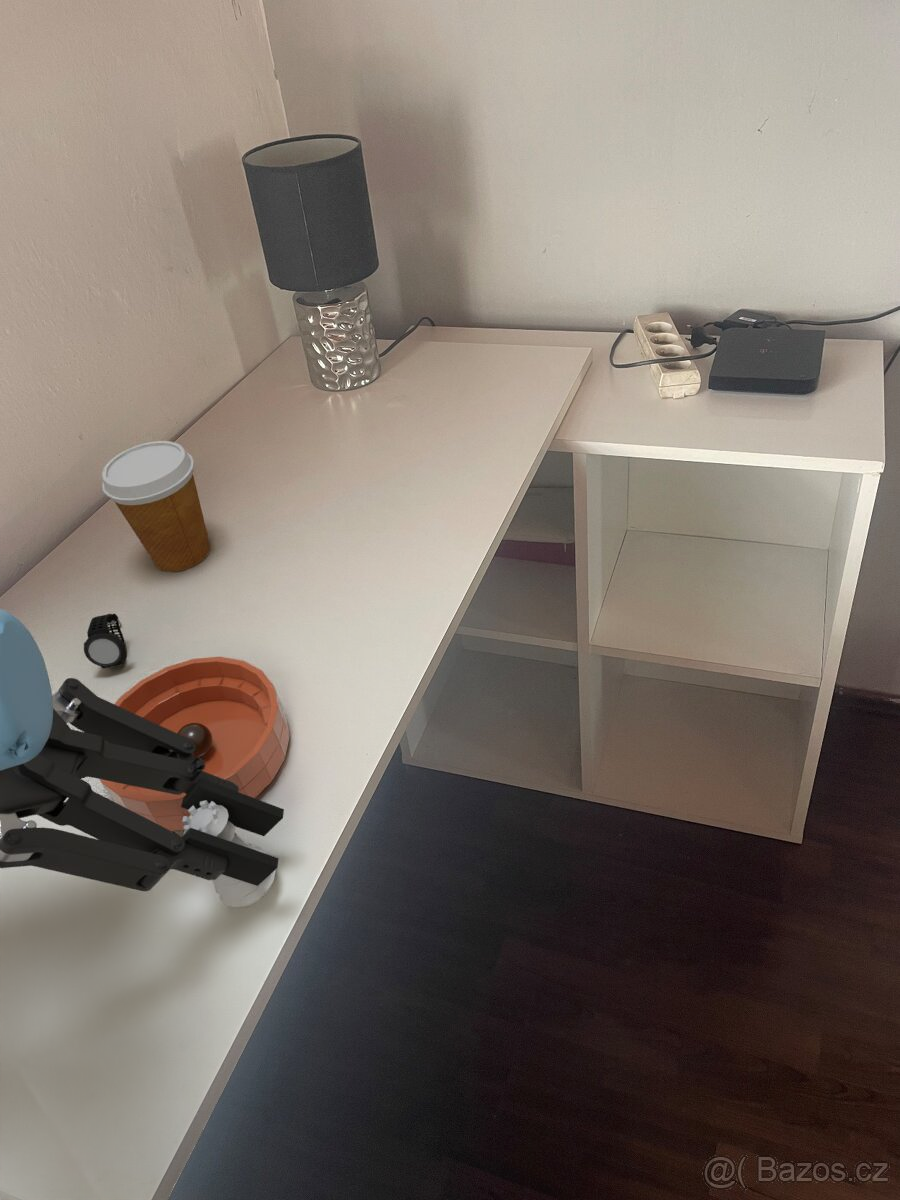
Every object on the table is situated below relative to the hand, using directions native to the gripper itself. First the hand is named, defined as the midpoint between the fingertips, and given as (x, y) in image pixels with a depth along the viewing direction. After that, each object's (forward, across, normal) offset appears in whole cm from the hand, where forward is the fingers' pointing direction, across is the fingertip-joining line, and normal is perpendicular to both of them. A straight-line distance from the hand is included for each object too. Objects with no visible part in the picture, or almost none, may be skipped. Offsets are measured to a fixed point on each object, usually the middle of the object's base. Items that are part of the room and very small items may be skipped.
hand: (270, 846), depth 61 cm
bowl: (-3, -13, -9) cm, 16 cm away
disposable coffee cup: (-8, -43, -14) cm, 46 cm away
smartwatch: (-10, -27, -17) cm, 33 cm away
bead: (-4, -13, -8) cm, 16 cm away
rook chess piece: (+1, +1, -4) cm, 4 cm away
